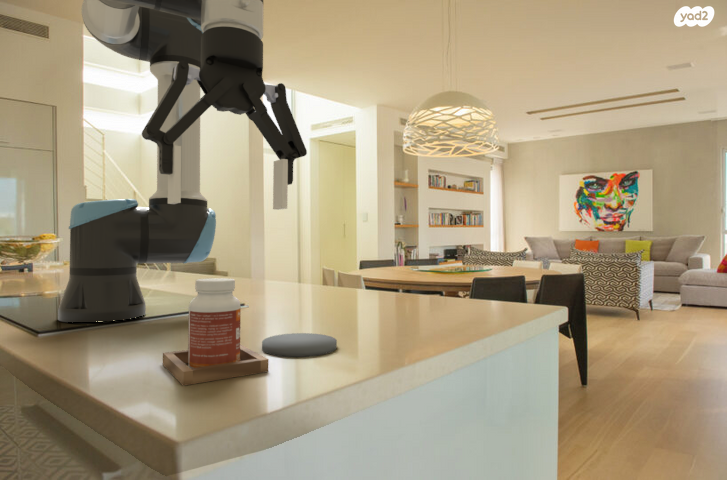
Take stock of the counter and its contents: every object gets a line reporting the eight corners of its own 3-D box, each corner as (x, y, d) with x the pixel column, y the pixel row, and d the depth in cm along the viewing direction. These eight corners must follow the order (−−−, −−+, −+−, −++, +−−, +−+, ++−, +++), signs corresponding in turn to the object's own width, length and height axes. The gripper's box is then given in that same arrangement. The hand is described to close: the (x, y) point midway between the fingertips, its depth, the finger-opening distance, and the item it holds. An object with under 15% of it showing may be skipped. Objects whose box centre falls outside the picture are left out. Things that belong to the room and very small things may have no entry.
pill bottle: (247, 370, 57) (248, 280, 57) (195, 378, 54) (196, 282, 54) (231, 359, 62) (232, 276, 62) (182, 365, 59) (184, 278, 59)
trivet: (250, 344, 71) (250, 338, 71) (313, 336, 77) (313, 330, 77) (282, 361, 62) (282, 353, 62) (350, 350, 68) (350, 343, 68)
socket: (162, 364, 59) (162, 352, 59) (238, 354, 65) (238, 343, 65) (183, 385, 51) (183, 372, 51) (268, 371, 57) (268, 359, 57)
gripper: (128, -9, 48) (126, 198, 48) (332, 52, 63) (330, 209, 63) (116, 19, 54) (114, 202, 54) (305, 68, 69) (303, 212, 69)
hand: (230, 206), depth 58 cm, fingers open, 13 cm apart
